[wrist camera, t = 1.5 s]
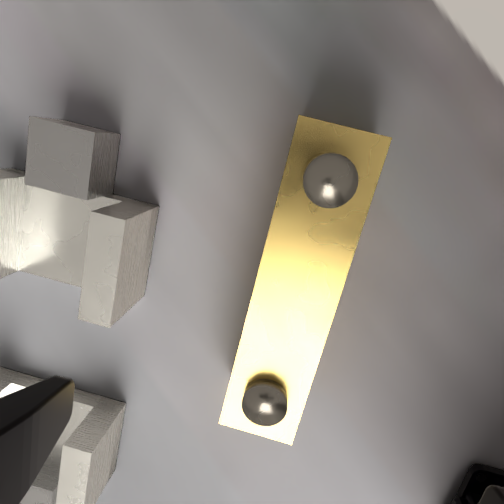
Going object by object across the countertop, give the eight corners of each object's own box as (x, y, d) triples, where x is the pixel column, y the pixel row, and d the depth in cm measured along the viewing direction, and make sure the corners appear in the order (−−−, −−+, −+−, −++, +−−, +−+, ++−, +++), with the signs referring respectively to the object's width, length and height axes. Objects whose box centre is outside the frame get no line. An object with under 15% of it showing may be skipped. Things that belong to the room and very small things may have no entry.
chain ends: (169, 146, 19) (136, 146, 16) (108, 506, 26) (74, 569, 22) (15, 108, 20) (-54, 98, 16) (-7, 470, 26) (-60, 526, 22)
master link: (373, 139, 18) (395, 137, 14) (293, 393, 22) (291, 454, 18) (299, 121, 19) (298, 113, 14) (233, 376, 22) (216, 432, 18)
